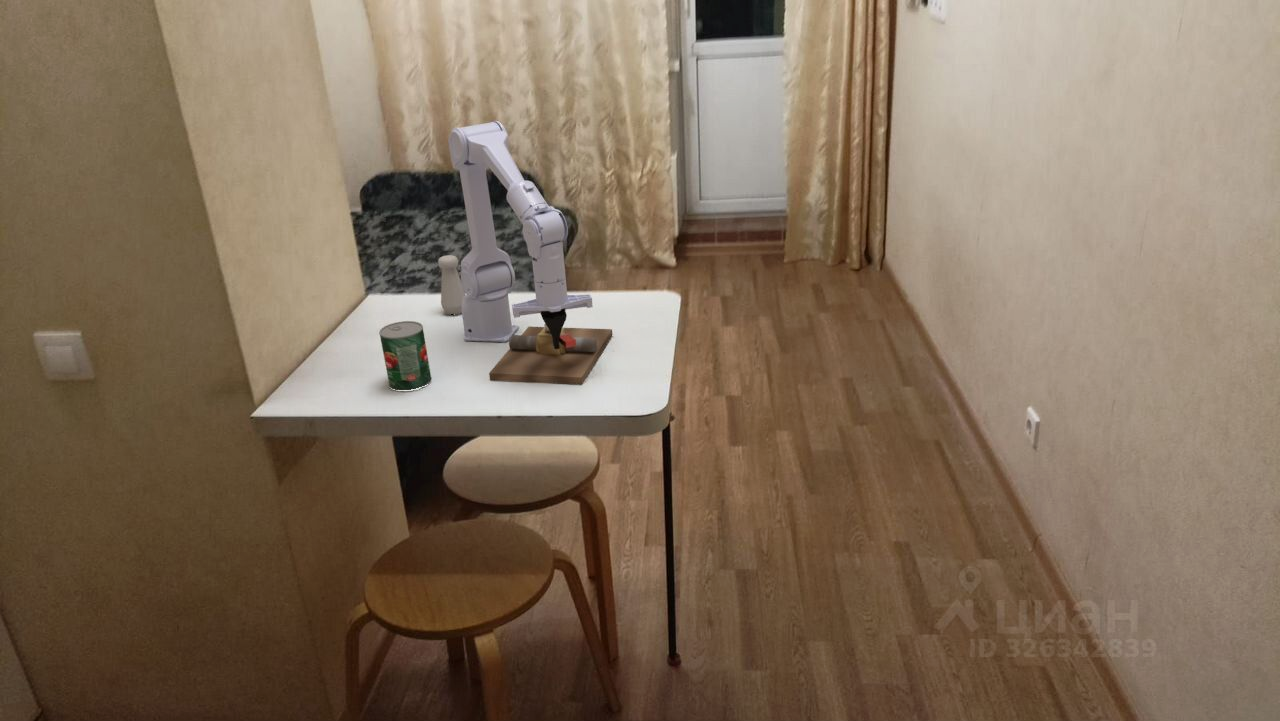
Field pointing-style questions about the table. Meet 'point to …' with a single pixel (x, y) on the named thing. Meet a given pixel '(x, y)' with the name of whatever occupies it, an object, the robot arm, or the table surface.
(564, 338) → the valve lever
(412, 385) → the canned tomato
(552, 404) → the table surface
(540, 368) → the valve board
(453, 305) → the salt shaker
